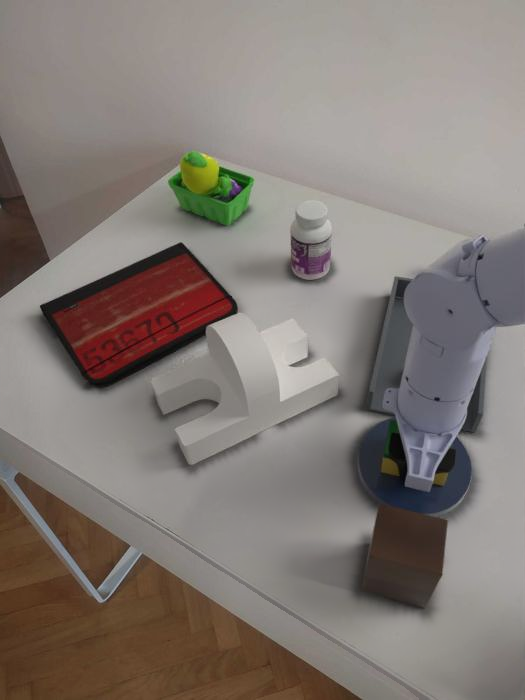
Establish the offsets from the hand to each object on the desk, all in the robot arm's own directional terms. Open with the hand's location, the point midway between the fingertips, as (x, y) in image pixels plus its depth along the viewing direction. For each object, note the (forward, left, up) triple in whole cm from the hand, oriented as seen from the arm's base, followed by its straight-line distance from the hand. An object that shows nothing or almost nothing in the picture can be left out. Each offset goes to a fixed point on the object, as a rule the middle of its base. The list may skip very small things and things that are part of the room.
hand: (414, 459), depth 57 cm
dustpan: (+7, -17, -2) cm, 19 cm away
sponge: (0, 0, 0) cm, 0 cm away
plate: (0, 0, -2) cm, 2 cm away
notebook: (+38, +1, -2) cm, 38 cm away
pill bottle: (+26, -19, -2) cm, 32 cm away
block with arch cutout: (+19, +3, -2) cm, 19 cm away
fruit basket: (+46, -21, -2) cm, 51 cm away
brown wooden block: (-4, +10, -2) cm, 11 cm away
